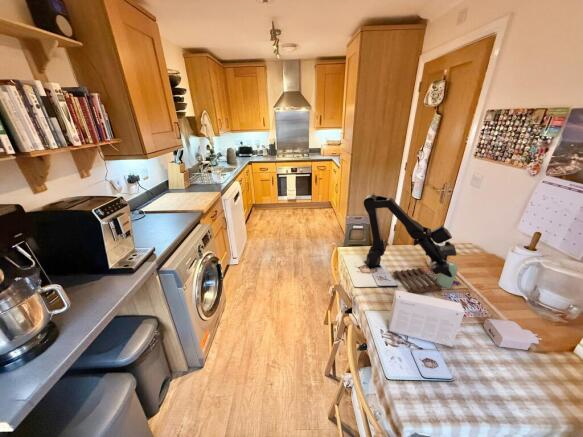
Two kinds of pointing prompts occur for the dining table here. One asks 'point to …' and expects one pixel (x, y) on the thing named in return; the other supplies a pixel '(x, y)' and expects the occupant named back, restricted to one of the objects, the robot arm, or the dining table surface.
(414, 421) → the dining table surface
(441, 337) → the skincare box
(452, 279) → the green rectangular box
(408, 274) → the rack
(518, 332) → the charger
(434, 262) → the syrup box
